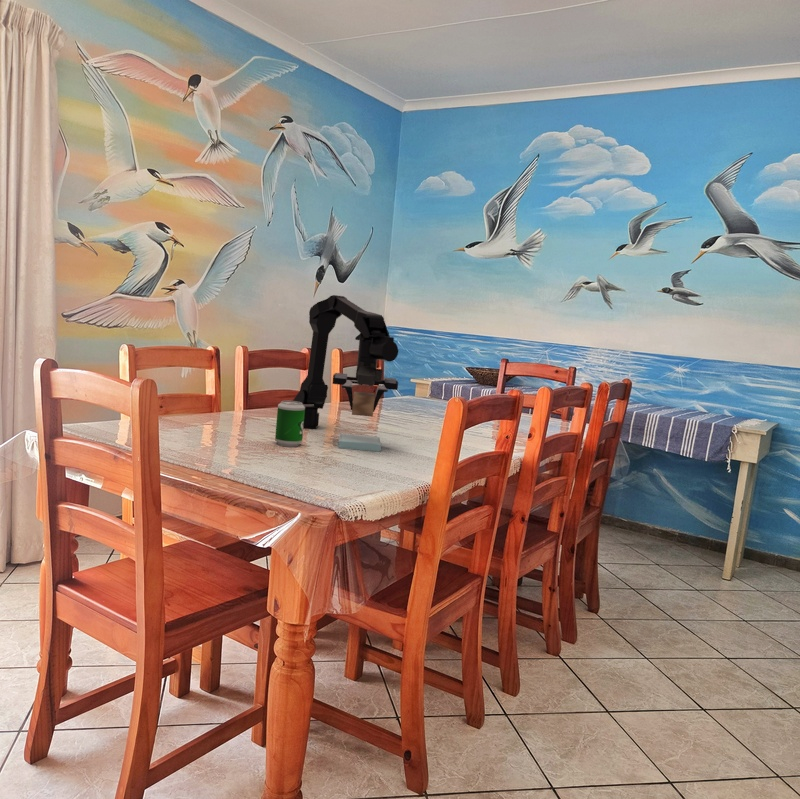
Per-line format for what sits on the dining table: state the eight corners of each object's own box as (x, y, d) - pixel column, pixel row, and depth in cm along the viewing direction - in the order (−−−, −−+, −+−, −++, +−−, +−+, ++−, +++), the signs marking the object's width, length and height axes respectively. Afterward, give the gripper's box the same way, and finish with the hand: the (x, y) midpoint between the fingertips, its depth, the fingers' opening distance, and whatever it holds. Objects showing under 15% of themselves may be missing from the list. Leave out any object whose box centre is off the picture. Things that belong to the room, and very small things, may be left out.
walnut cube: (351, 414, 199) (353, 394, 198) (351, 411, 205) (353, 391, 204) (372, 416, 199) (374, 396, 198) (372, 413, 205) (374, 393, 204)
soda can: (296, 448, 190) (300, 405, 189) (270, 444, 191) (274, 402, 190) (305, 444, 197) (309, 402, 196) (280, 440, 199) (283, 399, 197)
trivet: (338, 448, 197) (338, 440, 196) (339, 440, 208) (339, 433, 208) (380, 451, 197) (381, 444, 197) (378, 443, 209) (379, 436, 209)
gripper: (334, 356, 191) (329, 412, 193) (401, 362, 193) (396, 418, 195) (335, 353, 202) (330, 406, 204) (399, 359, 204) (393, 412, 206)
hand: (362, 410), depth 202 cm, fingers closed on walnut cube, 6 cm apart
